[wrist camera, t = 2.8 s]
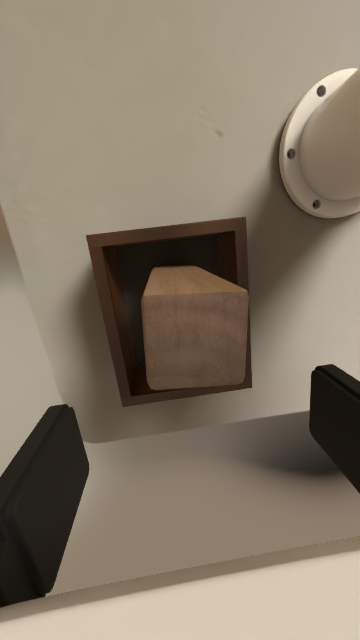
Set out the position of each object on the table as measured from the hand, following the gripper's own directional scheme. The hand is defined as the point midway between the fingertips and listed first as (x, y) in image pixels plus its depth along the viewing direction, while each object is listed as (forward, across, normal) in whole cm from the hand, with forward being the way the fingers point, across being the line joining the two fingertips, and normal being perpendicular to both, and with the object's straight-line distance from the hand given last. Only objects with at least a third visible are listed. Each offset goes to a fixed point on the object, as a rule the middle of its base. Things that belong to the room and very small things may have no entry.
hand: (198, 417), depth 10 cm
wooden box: (+20, 0, 0) cm, 20 cm away
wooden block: (+20, 0, 0) cm, 20 cm away
